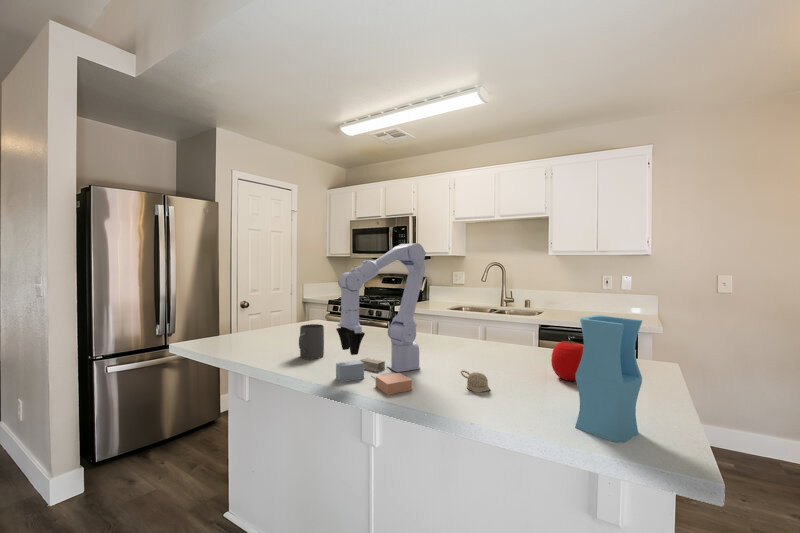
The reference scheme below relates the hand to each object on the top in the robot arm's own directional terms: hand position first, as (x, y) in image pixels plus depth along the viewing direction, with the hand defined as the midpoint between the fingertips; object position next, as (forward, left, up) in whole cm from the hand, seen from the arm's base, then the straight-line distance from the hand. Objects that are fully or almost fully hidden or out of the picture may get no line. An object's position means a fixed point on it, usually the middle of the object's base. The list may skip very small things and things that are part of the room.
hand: (349, 351), depth 122 cm
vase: (-38, +62, -9) cm, 73 cm away
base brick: (-8, +15, -9) cm, 19 cm away
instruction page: (-11, +4, -9) cm, 14 cm away
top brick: (0, 0, -9) cm, 9 cm away
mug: (+5, -31, -9) cm, 33 cm away
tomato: (-62, +34, -9) cm, 71 cm away
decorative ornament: (-29, +27, -9) cm, 41 cm away
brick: (-11, -7, -9) cm, 16 cm away
